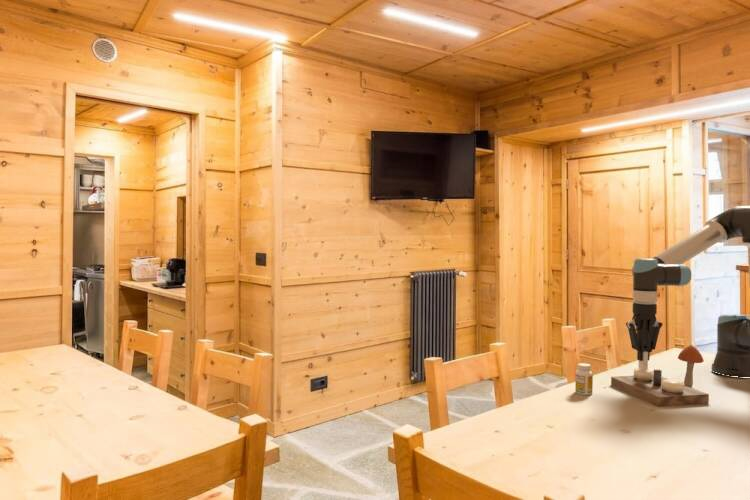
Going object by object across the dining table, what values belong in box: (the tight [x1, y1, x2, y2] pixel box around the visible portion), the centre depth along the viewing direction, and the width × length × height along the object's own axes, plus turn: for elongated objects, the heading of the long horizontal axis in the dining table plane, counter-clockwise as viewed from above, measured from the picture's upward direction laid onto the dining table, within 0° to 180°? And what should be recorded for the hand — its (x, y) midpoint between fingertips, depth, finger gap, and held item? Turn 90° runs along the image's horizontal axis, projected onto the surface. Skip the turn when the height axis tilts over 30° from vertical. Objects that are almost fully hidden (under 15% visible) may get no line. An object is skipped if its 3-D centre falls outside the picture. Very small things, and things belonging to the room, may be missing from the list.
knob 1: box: [633, 367, 654, 382], centre depth 186 cm, size 6×6×6 cm
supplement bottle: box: [575, 362, 594, 396], centre depth 180 cm, size 5×5×10 cm
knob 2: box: [662, 379, 684, 394], centre depth 172 cm, size 6×6×6 cm
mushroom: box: [677, 344, 705, 388], centre depth 187 cm, size 8×8×15 cm
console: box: [610, 375, 710, 408], centre depth 179 cm, size 18×24×3 cm
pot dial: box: [653, 368, 662, 386], centre depth 179 cm, size 2×2×5 cm
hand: (643, 369), depth 186 cm, fingers closed
